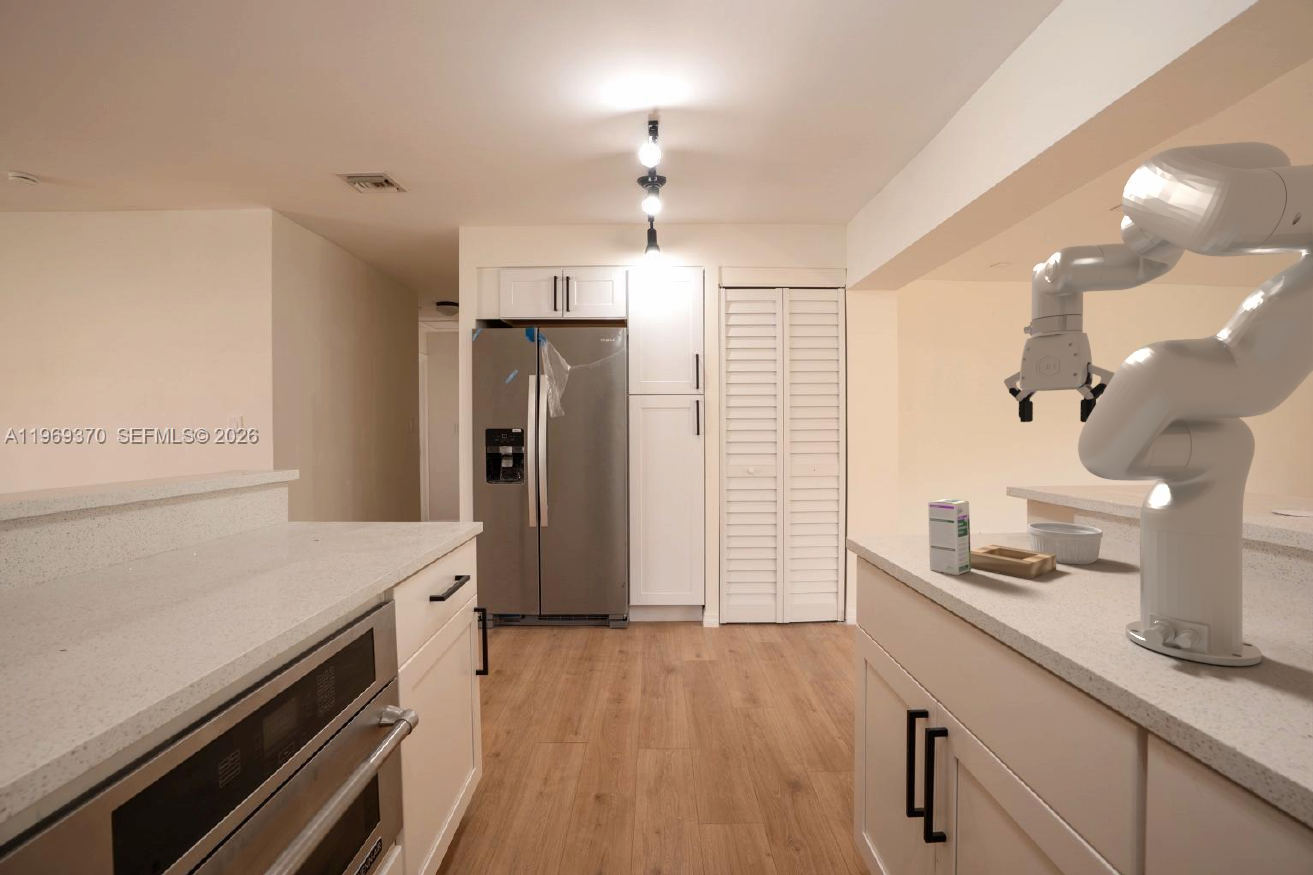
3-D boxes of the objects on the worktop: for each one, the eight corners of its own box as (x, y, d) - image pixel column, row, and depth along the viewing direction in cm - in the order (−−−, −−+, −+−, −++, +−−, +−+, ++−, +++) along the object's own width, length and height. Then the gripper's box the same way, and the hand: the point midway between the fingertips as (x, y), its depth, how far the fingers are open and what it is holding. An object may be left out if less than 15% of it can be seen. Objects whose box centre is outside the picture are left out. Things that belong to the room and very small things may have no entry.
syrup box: (958, 576, 104) (957, 503, 104) (928, 570, 109) (927, 500, 109) (971, 571, 107) (970, 500, 107) (941, 565, 112) (941, 497, 112)
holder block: (1029, 579, 101) (1029, 563, 101) (965, 566, 111) (965, 552, 111) (1056, 569, 108) (1056, 554, 108) (993, 557, 118) (993, 544, 118)
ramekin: (1100, 569, 107) (1100, 535, 107) (1022, 559, 116) (1022, 528, 116) (1104, 557, 117) (1104, 526, 117) (1032, 549, 126) (1032, 520, 126)
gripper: (995, 334, 102) (994, 422, 103) (1105, 319, 87) (1103, 422, 88) (1016, 336, 106) (1015, 421, 106) (1125, 322, 91) (1123, 421, 91)
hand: (1055, 421), depth 97 cm, fingers open, 9 cm apart
